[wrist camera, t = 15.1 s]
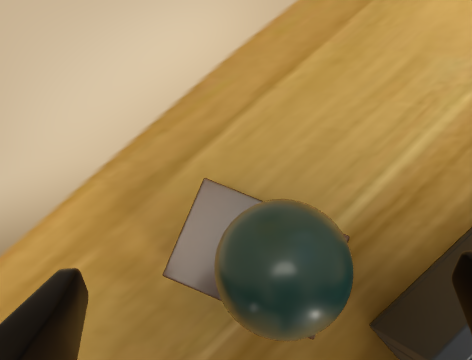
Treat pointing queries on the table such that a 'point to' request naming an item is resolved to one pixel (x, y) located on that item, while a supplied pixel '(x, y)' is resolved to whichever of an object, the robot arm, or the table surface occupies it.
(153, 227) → the table surface
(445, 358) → the basket
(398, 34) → the table surface
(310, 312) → the teal handled stamp
